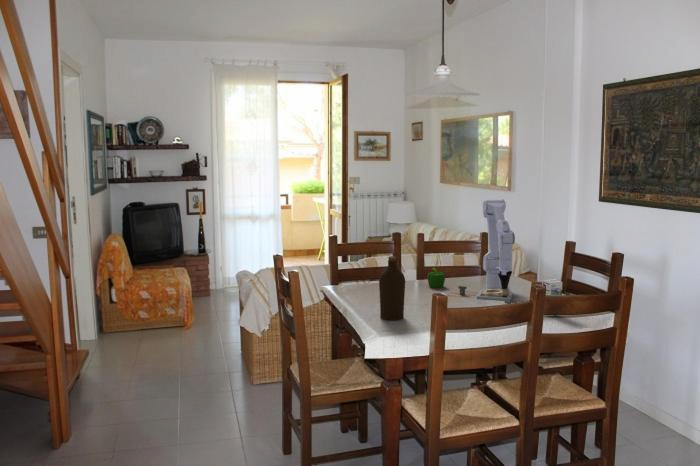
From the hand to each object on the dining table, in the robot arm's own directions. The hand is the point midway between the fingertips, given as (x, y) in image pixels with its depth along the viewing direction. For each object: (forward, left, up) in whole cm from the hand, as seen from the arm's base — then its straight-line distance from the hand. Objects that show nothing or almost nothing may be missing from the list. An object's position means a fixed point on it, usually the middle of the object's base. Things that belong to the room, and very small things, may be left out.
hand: (504, 287), depth 283 cm
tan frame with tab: (0, -4, -4) cm, 5 cm away
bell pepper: (-12, -34, -5) cm, 36 cm away
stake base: (0, -19, -5) cm, 20 cm away
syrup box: (+22, +21, -5) cm, 31 cm away
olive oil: (+48, -40, -5) cm, 62 cm away
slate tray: (0, -4, -5) cm, 7 cm away
